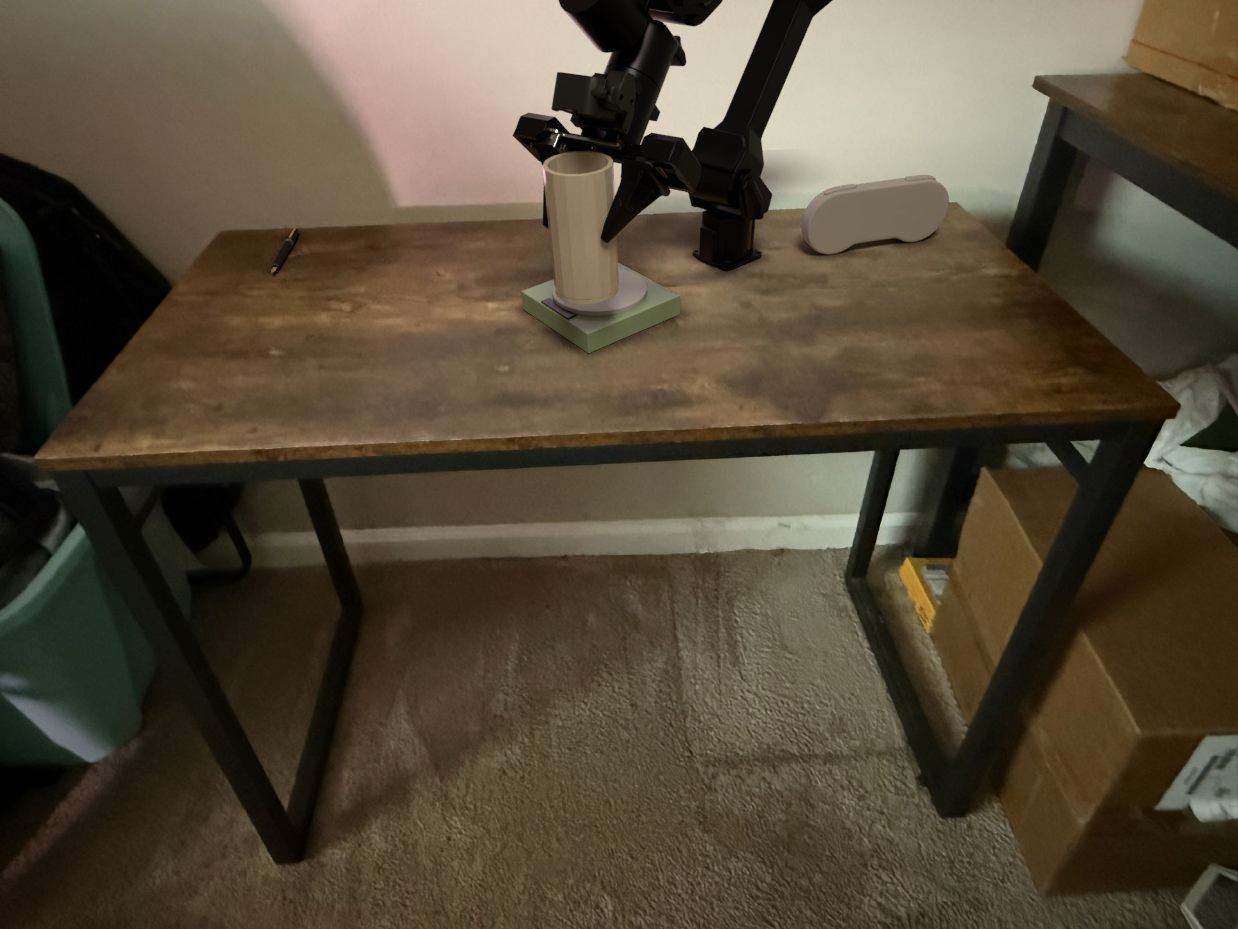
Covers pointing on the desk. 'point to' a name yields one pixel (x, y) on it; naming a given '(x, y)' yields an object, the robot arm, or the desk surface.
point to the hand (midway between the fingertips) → (574, 233)
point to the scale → (604, 310)
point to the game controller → (874, 213)
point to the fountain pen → (285, 249)
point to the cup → (581, 226)
